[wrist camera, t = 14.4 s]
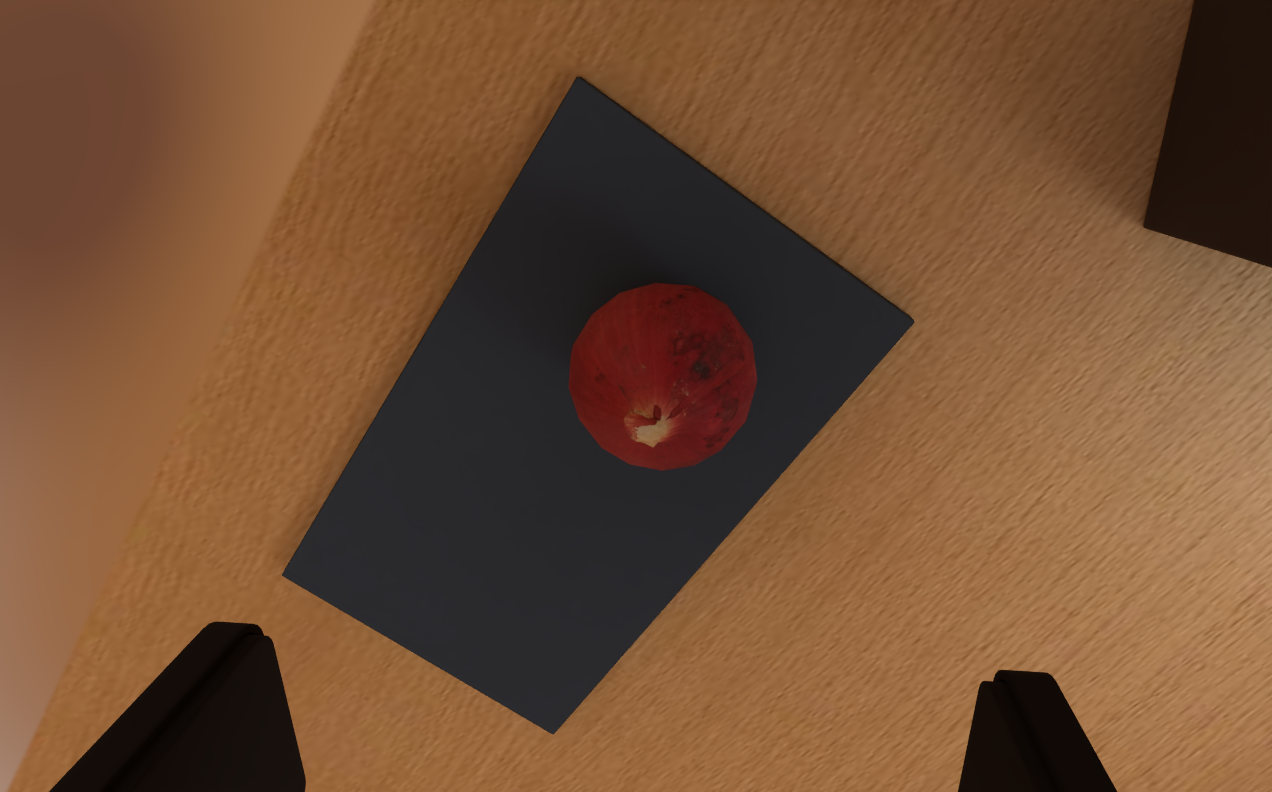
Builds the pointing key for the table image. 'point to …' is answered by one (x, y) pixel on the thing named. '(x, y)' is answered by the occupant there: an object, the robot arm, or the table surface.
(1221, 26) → the grey legged box
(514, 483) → the mat
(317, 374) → the table surface
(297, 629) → the table surface
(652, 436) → the pomegranate
